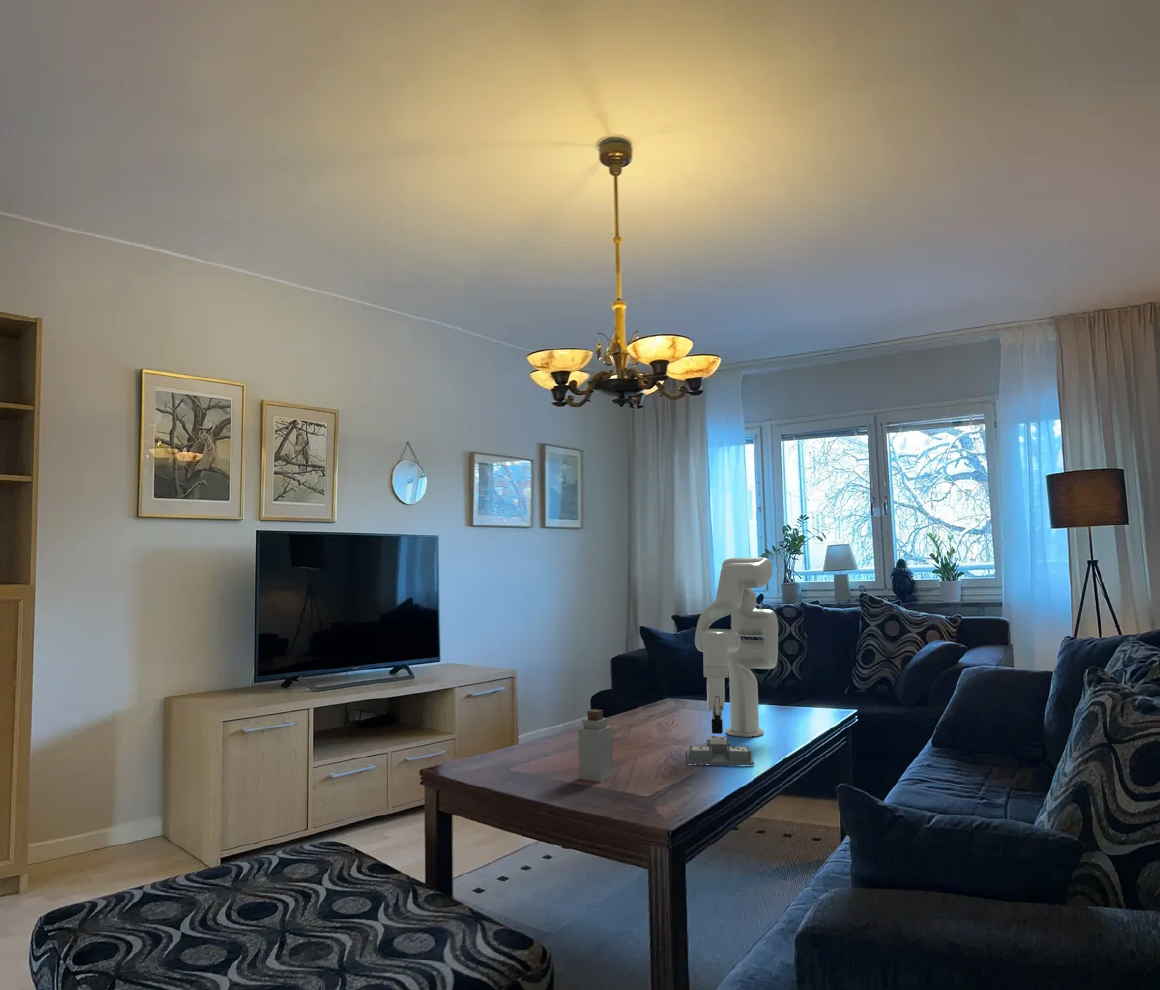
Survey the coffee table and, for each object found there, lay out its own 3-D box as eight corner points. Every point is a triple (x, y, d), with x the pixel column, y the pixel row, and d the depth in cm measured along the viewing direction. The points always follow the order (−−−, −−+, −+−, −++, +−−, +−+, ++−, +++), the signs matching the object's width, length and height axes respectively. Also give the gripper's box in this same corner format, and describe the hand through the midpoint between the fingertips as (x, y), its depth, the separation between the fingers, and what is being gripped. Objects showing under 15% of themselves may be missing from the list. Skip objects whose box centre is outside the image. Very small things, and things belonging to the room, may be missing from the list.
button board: (686, 750, 246) (686, 738, 247) (748, 751, 244) (748, 739, 244) (687, 765, 229) (687, 751, 229) (754, 766, 226) (753, 752, 227)
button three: (729, 753, 235) (729, 746, 235) (746, 754, 234) (746, 746, 234) (730, 757, 230) (730, 750, 230) (747, 758, 229) (747, 750, 229)
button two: (709, 742, 244) (709, 735, 244) (725, 743, 243) (725, 735, 243) (710, 746, 239) (709, 739, 239) (726, 746, 238) (726, 739, 239)
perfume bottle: (591, 773, 222) (590, 707, 223) (612, 776, 218) (611, 709, 220) (579, 778, 216) (578, 711, 217) (600, 782, 212) (599, 713, 214)
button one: (692, 753, 236) (691, 745, 236) (708, 753, 235) (708, 746, 236) (692, 757, 231) (692, 749, 231) (709, 757, 231) (709, 749, 231)
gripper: (702, 669, 251) (704, 728, 249) (704, 674, 236) (705, 737, 234) (726, 669, 250) (728, 728, 248) (729, 674, 235) (731, 738, 233)
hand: (717, 733), depth 241 cm, fingers closed
